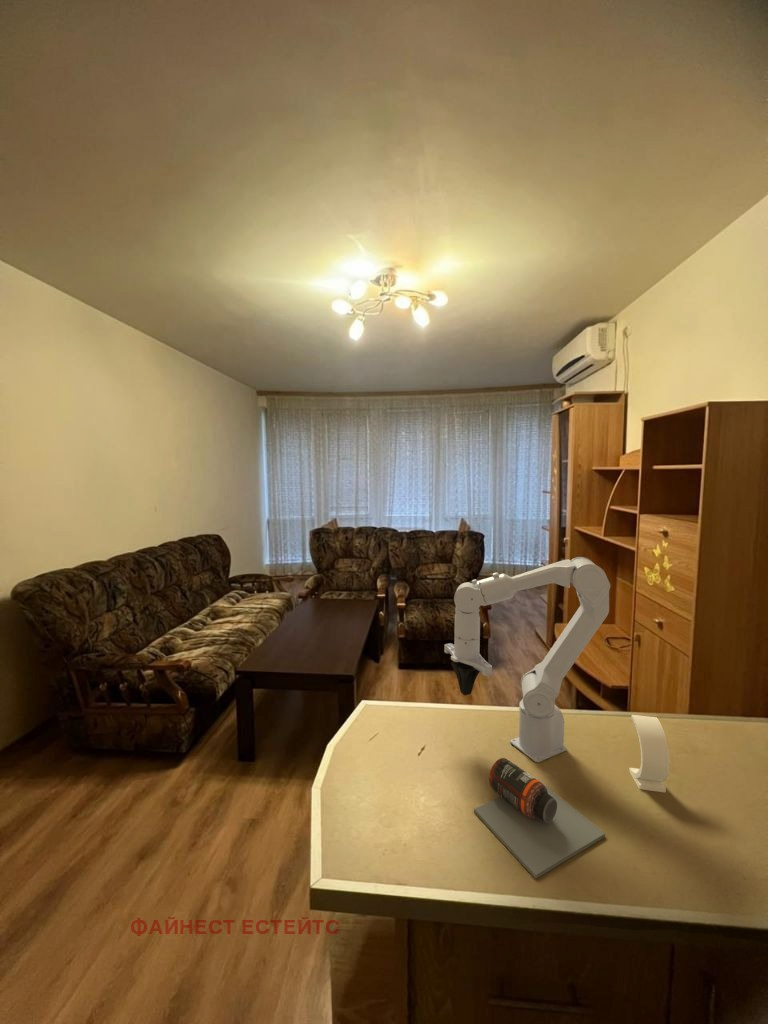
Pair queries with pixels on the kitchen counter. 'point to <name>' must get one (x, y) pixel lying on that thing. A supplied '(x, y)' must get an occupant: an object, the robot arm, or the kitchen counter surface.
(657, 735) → the headphone stand
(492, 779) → the supplement bottle
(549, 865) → the mat
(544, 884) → the kitchen counter surface
